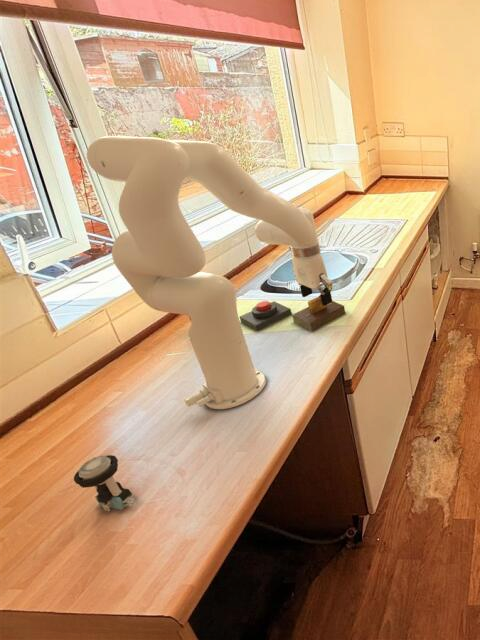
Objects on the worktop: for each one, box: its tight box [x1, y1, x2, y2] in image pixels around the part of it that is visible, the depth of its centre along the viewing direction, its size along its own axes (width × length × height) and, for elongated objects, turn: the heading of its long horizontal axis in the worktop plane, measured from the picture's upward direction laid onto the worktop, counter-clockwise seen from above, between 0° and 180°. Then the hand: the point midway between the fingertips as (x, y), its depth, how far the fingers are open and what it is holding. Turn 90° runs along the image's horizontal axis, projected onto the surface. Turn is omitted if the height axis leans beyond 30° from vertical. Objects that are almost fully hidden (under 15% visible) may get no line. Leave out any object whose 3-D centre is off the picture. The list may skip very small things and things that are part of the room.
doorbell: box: [239, 301, 293, 332], centre depth 125 cm, size 11×9×4 cm
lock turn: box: [307, 295, 327, 314], centre depth 125 cm, size 5×1×4 cm, turn 149°
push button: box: [73, 454, 138, 512], centre depth 69 cm, size 7×5×10 cm
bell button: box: [255, 300, 271, 311], centre depth 124 cm, size 4×4×2 cm
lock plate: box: [292, 300, 346, 332], centre depth 126 cm, size 12×9×3 cm
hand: (317, 299), depth 125 cm, fingers open, 9 cm apart
